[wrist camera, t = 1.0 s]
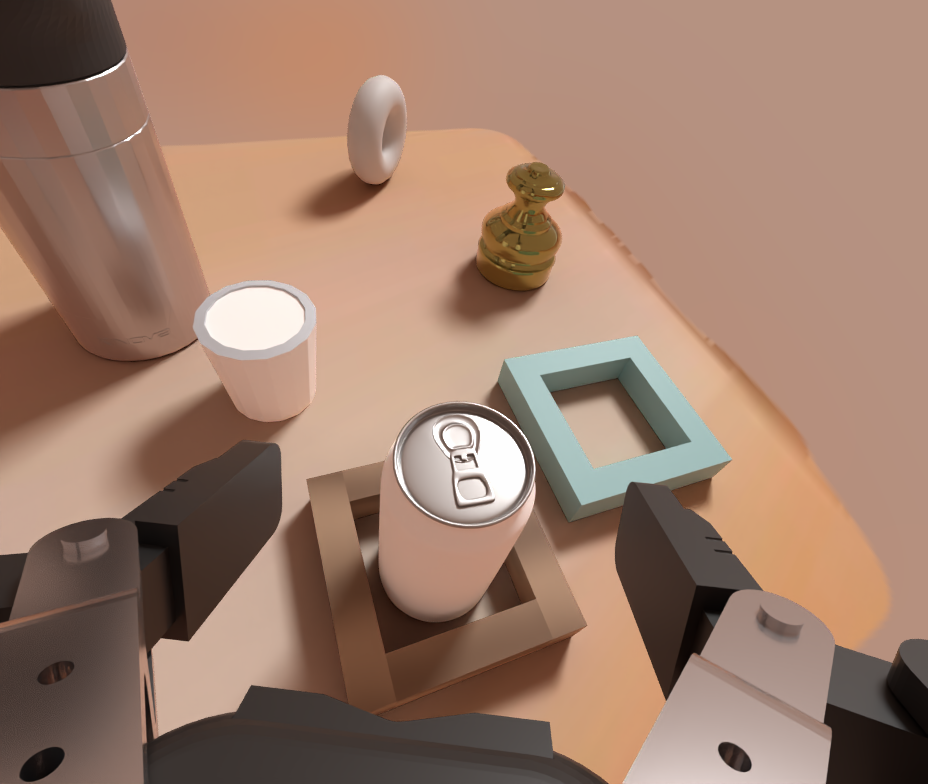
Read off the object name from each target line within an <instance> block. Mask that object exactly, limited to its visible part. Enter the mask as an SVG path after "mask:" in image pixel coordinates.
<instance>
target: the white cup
mask: <svg viewBox="0 0 928 784" xmlns="http://www.w3.org/2000/svg"><path fill="white" fill-rule="evenodd" d="M193 329H194V331H195V333H196V335H197V338H198V340H199V342H200V344H201V345H202V347H203V349H204V351H205V353H206V354H207V356H208V358H209V360H210V362H211V363H212V365H213V367H214V369H215V371H216V372H217V374H218V376H219V378H220V380H221V382H222V383H223V385H224V387H225V389H226V391H227V392H228V394H229V396H230V398H231V400H232V401H233V403H234V405H235V407H236V409H237V410H238V411H239V412H241V413H242V414H244V415H245V416H246V417H248V418H249V419H253V420H258V421H262V422H274V421H283V420H286V419H288V418H291V417H293V416H296V415H298V414H300V413H301V412H302V411H303V410H304V409H305V408H307V407H308V406H309V405H310V404H311V402H312V400H313V398H314V396H315V394H316V308H315V306H314V305H313V303H312V302H311V300H310V299H309V297H308V296H307V295H306V294H305V293H303V292H301V291H300V290H298V289H296V288H295V287H293V286H291V285H288V284H284V283H279V282H275V281H271V280H261V281H245V282H241V283H237V284H233V285H229V286H226V287H224V288H222V289H220V290H219V291H217V292H215V293H214V294H212V295H210V296H208V297H207V298H206V299H205V301H204V302H203V303H202V304H201V305H200V307H199V308H198V309H197V310H196V312H195V317H194V323H193Z"/></svg>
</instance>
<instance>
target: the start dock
mask: <svg viewBox="0 0 928 784" xmlns="http://www.w3.org/2000/svg"><path fill="white" fill-rule="evenodd" d="M384 462H385V461H382V462H378V463H374V464H370V465H365V466H361V467H357V468H352V469H348V470H344V471H340V472H335V473H331V474H327V475H322V476H318V477H314V478H309V479H306V480H307V485H308V490H309V496H310V501H311V506H312V512H313V517H314V523H315V528H316V533H317V539H318V544H319V549H320V555H321V560H322V565H323V571H324V576H325V581H326V587H327V592H328V597H329V603H330V608H331V613H332V619H333V624H334V629H335V635H336V640H337V645H338V651H339V656H340V661H341V667H342V672H343V678H344V683H345V688H346V694H347V699H348V704H349V705H352V706H354V707H357V708H359V709H362V710H364V711H367V712H369V713H372V714H374V715H379V714H381V713H383V712H386V711H388V710H391V709H393V708H396V707H398V706H401V705H403V704H406V703H408V702H411V701H413V700H416V699H418V698H421V697H423V696H426V695H428V694H431V693H433V692H436V691H438V690H441V689H443V688H446V687H448V686H450V685H453V684H455V683H458V682H460V681H463V680H465V679H468V678H470V677H473V676H475V675H478V674H480V673H483V672H485V671H488V670H490V669H493V668H495V667H498V666H500V665H503V664H505V663H508V662H510V661H513V660H515V659H517V658H520V657H522V656H525V655H527V654H530V653H532V652H535V651H537V650H540V649H542V648H545V647H547V646H550V645H552V644H555V643H557V642H560V641H562V640H565V639H567V638H570V637H572V636H573V635H575V634H576V633H578V632H579V631H580V630H582V629H583V628H585V627H586V626H587V624H586V622H585V619H584V617H583V615H582V613H581V611H580V609H579V607H578V604H577V602H576V600H575V598H574V596H573V594H572V592H571V589H570V587H569V585H568V583H567V581H566V579H565V577H564V574H563V572H562V570H561V568H560V566H559V564H558V562H557V559H556V557H555V555H554V553H553V551H552V549H551V546H550V544H549V542H548V540H547V538H546V536H545V534H544V531H543V529H542V527H541V525H540V523H539V521H538V519H537V516H536V514H535V512H534V510H533V508H532V511H531V514H530V517H529V519H528V521H527V523H526V525H525V527H524V529H523V530H522V532H521V534H520V535H519V537H518V539H517V541H516V542H515V544H514V546H513V547H512V549H511V551H510V552H509V554H508V556H507V557H506V559H505V561H504V562H505V564H506V567H507V569H508V572H509V574H510V577H511V579H512V582H513V584H514V587H515V589H516V592H517V594H518V597H519V599H520V601H521V605H518V606H515V607H513V608H510V609H507V610H504V611H502V612H499V613H496V614H493V615H491V616H488V617H485V618H482V619H480V620H477V621H474V622H471V623H469V624H466V625H463V626H460V627H458V628H455V629H452V630H449V631H447V632H444V633H441V634H438V635H436V636H433V637H430V638H427V639H425V640H422V641H419V642H416V643H414V644H411V645H408V646H405V647H403V648H400V649H397V650H394V651H392V652H389V653H386V654H385V650H384V646H383V642H382V638H381V634H380V629H379V625H378V621H377V617H376V612H375V608H374V604H373V600H372V595H371V591H370V587H369V583H368V579H367V574H366V570H365V566H364V562H363V557H362V553H361V549H360V545H359V540H358V536H357V532H356V528H355V524H354V519H357V518H361V517H364V516H368V515H372V514H376V513H379V512H380V488H381V476H382V470H383V465H384Z"/></svg>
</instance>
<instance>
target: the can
mask: <svg viewBox="0 0 928 784" xmlns="http://www.w3.org/2000/svg"><path fill="white" fill-rule="evenodd" d="M535 477H536V464H535V458H534V454H533V451H532V448H531V446H530V444H529V442H528V440H527V438H526V437H525V435H524V434H523V433H522V431H521V430H520V429H519V428H518V427H517V426H516V425H515V424H514V423H513V422H512V421H511V420H510V419H508V418H507V417H506V416H504V415H503V414H501V413H499V412H498V411H496V410H494V409H491V408H489V407H486V406H484V405H480V404H476V403H471V402H460V401H456V402H445V403H440V404H437V405H434V406H431V407H428V408H426V409H424V410H422V411H421V412H419V413H418V414H416V415H415V416H414V417H412V418H411V419H410V420H409V421H408V422H407V423H406V424H405V426H404V427H403V428H402V430H401V431H400V433H399V435H398V437H397V439H396V441H395V442H394V444H393V445H392V446H391V448H390V450H389V452H388V454H387V456H386V459H385V462H384V465H383V470H382V476H381V488H380V515H379V574H380V578H381V582H382V585H383V588H384V590H385V592H386V594H387V595H388V597H389V598H390V600H391V601H392V602H393V603H394V604H395V605H396V607H398V608H399V609H400V610H401V611H402V612H404V613H405V614H407V615H409V616H411V617H413V618H415V619H418V620H421V621H426V622H445V621H449V620H453V619H456V618H458V617H460V616H462V615H464V614H465V613H467V612H468V611H470V610H471V609H472V608H473V607H474V606H475V605H476V604H477V603H478V602H479V600H480V599H481V598H482V596H483V595H484V593H485V592H486V590H487V589H488V587H489V585H490V584H491V582H492V581H493V579H494V577H495V576H496V574H497V572H498V571H499V569H500V567H501V566H502V564H503V562H504V561H505V559H506V557H507V556H508V554H509V552H510V551H511V549H512V547H513V546H514V544H515V542H516V541H517V539H518V537H519V535H520V534H521V532H522V530H523V529H524V527H525V525H526V523H527V521H528V519H529V517H530V514H531V511H532V508H533V505H534V500H535Z"/></svg>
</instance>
